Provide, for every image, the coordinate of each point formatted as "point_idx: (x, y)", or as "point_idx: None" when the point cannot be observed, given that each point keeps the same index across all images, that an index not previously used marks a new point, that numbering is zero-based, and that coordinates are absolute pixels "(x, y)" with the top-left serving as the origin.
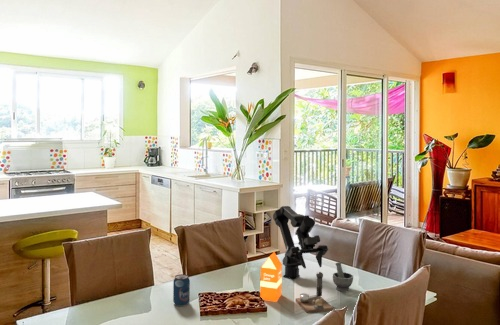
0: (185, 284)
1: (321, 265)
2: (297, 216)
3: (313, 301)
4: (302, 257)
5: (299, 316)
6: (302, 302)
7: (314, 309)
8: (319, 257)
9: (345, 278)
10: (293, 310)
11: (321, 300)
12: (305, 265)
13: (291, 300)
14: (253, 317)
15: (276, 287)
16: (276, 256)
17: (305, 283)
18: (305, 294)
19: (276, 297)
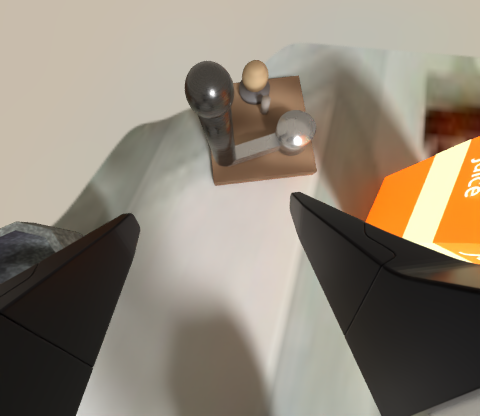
0: None
1: (118, 217)
2: None
3: (268, 97)
4: (383, 254)
5: (325, 67)
6: None
7: (273, 79)
8: (39, 286)
9: (27, 229)
10: (335, 106)
11: (246, 65)
12: (298, 200)
13: (326, 182)
14: (469, 73)
15: (443, 151)
16: None
17: (218, 366)
18: (290, 134)
19: (397, 173)
